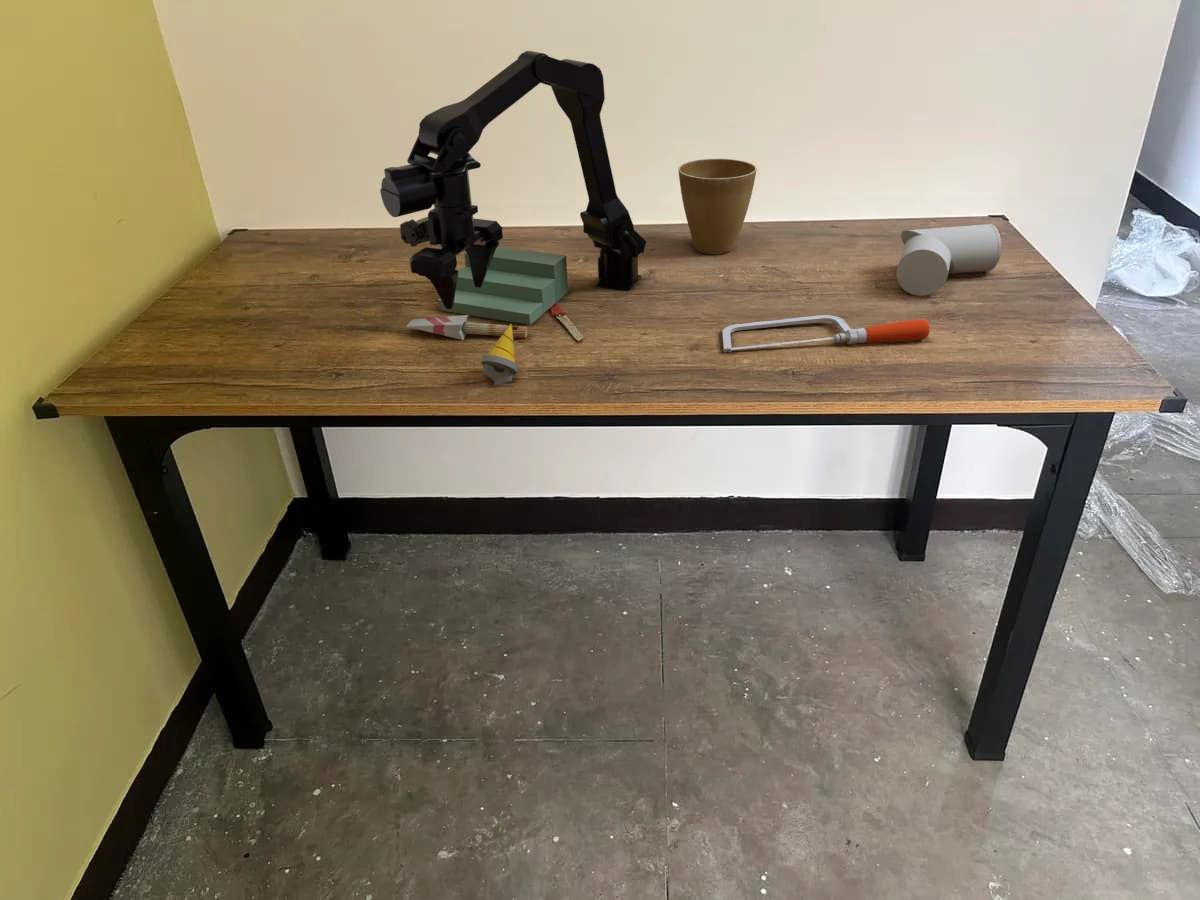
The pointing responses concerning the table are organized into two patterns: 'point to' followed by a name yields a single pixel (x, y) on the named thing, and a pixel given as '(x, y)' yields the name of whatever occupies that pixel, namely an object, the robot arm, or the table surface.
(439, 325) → the paintbrush
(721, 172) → the plant pot
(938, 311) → the table surface
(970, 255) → the l-shaped cylinder
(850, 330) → the hand saw
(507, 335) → the yellow cone with collar
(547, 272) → the staircase
